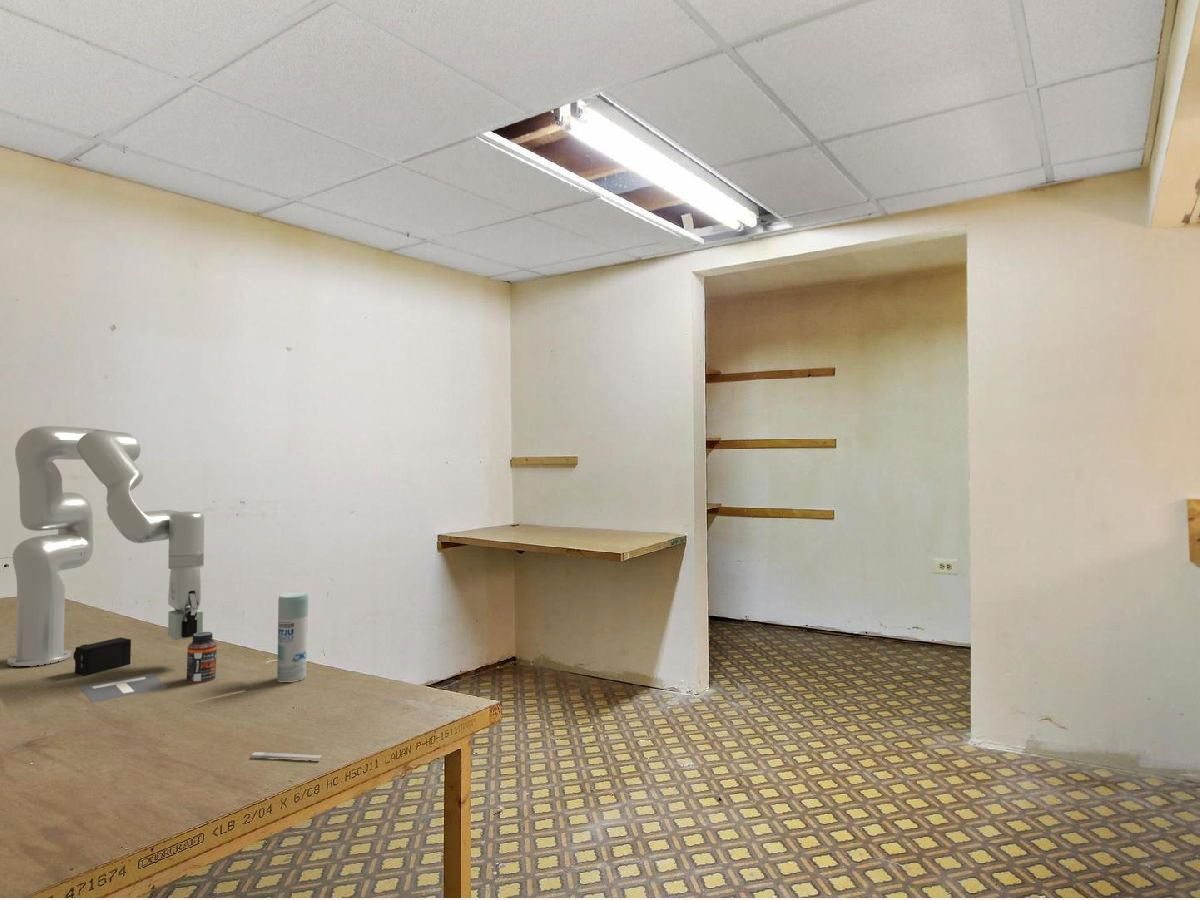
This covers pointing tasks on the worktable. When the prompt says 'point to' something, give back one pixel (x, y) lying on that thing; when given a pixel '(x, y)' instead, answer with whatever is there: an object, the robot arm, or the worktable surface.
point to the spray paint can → (292, 636)
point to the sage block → (176, 623)
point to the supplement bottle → (201, 658)
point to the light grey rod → (282, 755)
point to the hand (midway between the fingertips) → (185, 633)
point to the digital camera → (102, 656)
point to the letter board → (122, 687)
